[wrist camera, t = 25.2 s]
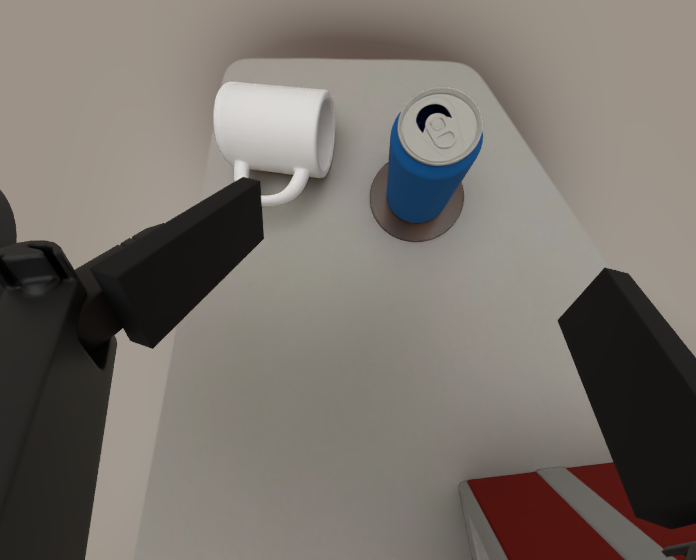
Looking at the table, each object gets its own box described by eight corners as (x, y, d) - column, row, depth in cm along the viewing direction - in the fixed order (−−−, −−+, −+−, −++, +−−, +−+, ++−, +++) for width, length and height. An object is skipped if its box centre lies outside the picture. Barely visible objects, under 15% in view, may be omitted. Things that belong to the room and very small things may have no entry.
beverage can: (428, 157, 32) (459, 64, 20) (458, 207, 31) (508, 141, 19) (375, 185, 32) (374, 109, 20) (403, 235, 31) (419, 187, 19)
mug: (258, 117, 35) (223, 59, 27) (339, 125, 34) (327, 68, 26) (236, 212, 34) (194, 182, 26) (319, 225, 33) (301, 196, 25)
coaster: (362, 233, 32) (362, 232, 32) (379, 148, 33) (379, 146, 32) (454, 249, 31) (455, 248, 30) (469, 161, 32) (471, 159, 31)
